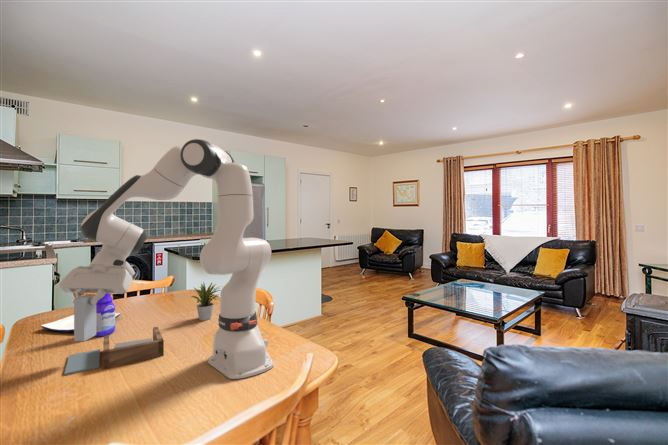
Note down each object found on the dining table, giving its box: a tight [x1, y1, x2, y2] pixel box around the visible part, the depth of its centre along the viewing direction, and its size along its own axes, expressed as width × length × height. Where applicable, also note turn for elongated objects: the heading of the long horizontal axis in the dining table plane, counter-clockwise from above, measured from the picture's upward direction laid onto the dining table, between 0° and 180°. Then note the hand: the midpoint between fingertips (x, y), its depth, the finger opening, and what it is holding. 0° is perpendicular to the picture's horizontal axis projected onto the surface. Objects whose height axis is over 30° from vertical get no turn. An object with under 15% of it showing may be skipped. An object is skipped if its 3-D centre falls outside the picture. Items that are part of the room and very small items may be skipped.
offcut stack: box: [113, 337, 153, 349], centre depth 102 cm, size 4×12×5 cm, turn 119°
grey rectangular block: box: [73, 293, 96, 342], centre depth 98 cm, size 3×5×13 cm, turn 1°
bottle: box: [94, 293, 116, 338], centre depth 120 cm, size 7×6×17 cm
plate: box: [40, 312, 122, 333], centre depth 130 cm, size 20×20×3 cm
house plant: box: [190, 281, 223, 322], centre depth 138 cm, size 14×14×16 cm
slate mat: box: [64, 349, 101, 376], centre depth 98 cm, size 14×8×1 cm, turn 36°
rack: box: [102, 326, 165, 370], centre depth 104 cm, size 15×16×5 cm
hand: (83, 303), depth 97 cm, fingers closed on grey rectangular block, 3 cm apart
